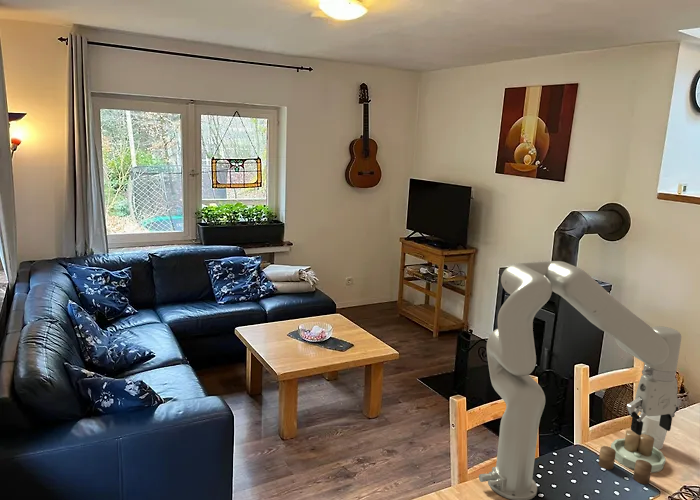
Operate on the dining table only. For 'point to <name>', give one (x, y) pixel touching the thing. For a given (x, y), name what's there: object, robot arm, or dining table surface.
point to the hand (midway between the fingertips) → (650, 430)
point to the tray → (638, 451)
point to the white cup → (654, 430)
